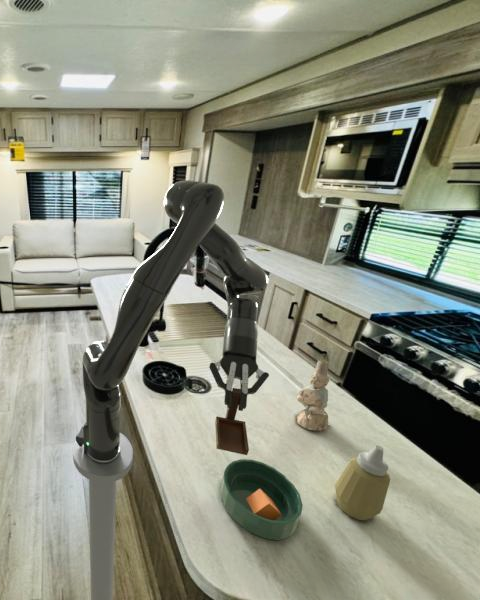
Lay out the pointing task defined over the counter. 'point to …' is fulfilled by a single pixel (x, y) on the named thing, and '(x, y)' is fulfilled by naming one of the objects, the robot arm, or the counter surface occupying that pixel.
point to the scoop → (232, 429)
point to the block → (263, 505)
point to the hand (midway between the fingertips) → (234, 408)
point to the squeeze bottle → (363, 485)
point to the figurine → (315, 400)
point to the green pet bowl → (257, 475)
